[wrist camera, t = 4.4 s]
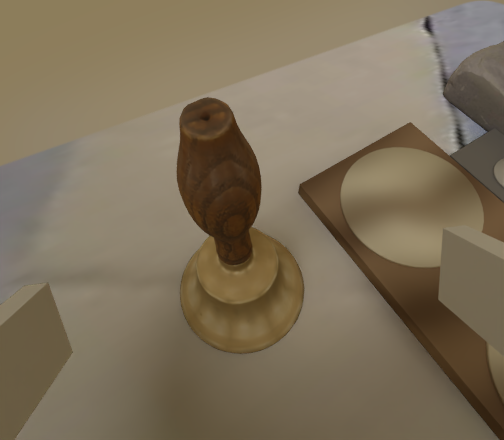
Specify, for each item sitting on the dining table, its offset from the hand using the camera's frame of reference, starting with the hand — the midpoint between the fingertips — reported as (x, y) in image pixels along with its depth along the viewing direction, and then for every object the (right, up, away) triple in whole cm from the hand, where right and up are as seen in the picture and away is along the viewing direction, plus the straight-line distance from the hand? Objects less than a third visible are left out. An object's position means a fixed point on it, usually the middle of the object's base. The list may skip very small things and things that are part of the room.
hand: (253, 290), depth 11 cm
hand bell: (-1, -2, +11) cm, 11 cm away
